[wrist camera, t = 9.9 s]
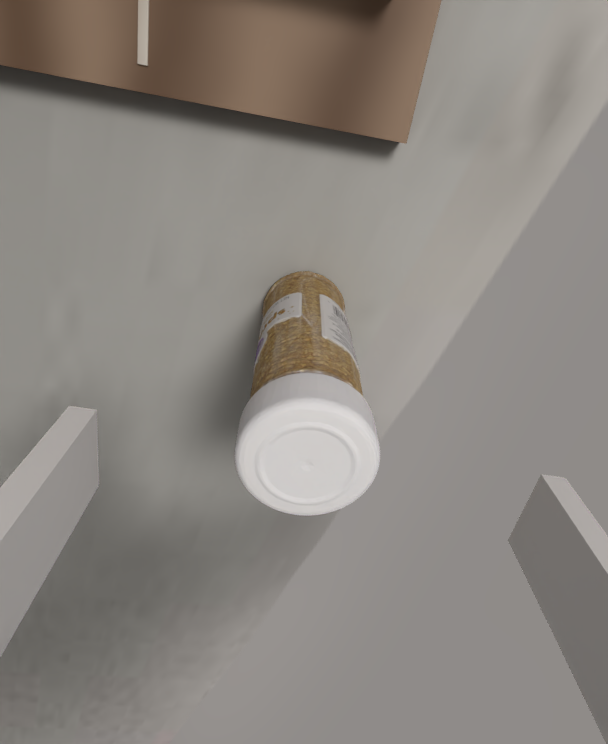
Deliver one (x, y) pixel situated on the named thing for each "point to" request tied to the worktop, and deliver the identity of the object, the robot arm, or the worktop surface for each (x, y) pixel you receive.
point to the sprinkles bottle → (306, 405)
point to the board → (239, 54)
